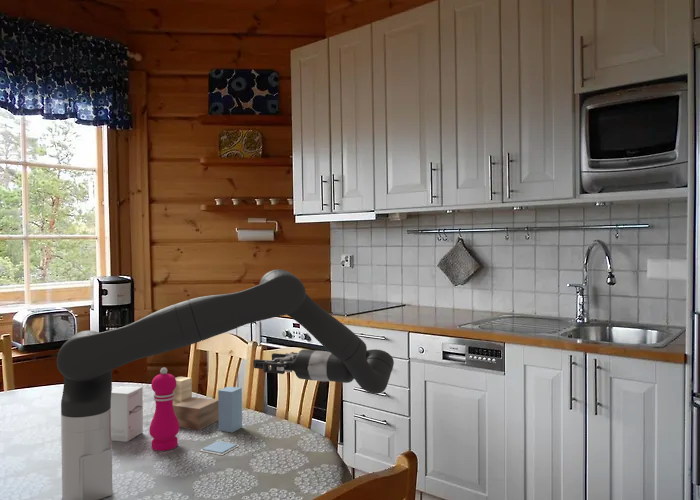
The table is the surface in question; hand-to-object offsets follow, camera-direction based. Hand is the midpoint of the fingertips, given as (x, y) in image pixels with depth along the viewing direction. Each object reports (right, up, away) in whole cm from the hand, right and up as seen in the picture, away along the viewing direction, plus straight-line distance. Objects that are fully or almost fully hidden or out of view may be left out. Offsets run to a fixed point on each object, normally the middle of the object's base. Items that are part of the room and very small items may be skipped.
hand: (263, 360), depth 151 cm
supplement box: (-37, -20, -1) cm, 42 cm away
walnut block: (-21, -20, +10) cm, 31 cm away
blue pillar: (-10, -20, +5) cm, 23 cm away
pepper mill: (-24, -20, -8) cm, 32 cm away
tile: (-9, -20, -10) cm, 24 cm away
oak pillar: (-27, -20, +17) cm, 38 cm away
